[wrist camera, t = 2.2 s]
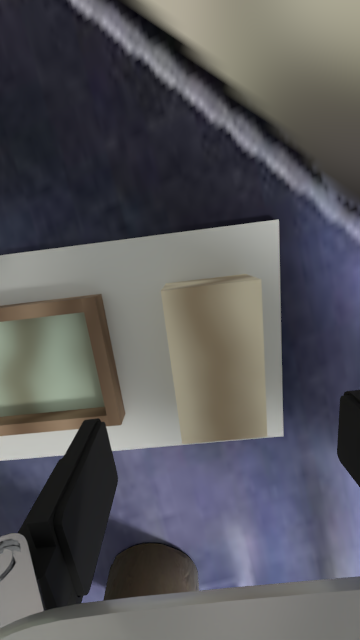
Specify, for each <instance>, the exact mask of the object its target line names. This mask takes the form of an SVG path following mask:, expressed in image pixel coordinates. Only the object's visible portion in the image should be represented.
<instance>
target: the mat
mask: <svg viewBox="0 0 360 640" xmlns="http://www.w3.org/2000/svg"><path fill="white" fill-rule="evenodd" d="M240 274H248V275H250V276H253V277H256V278H259V279H261V284H262V309H263V335H264V360H265V386H266V411H267V436H268V437H280V436H283V395H282V347H281V299H280V251H279V219H278V220H271V221H263V222H255V223H247V224H240V225H232V226H224V227H216V228H209V229H201V230H193V231H185V232H178V233H170V234H162V235H154V236H147V237H139V238H131V239H123V240H116V241H108V242H100V243H92V244H85V245H77V246H69V247H61V248H54V249H46V250H38V251H30V252H23V253H15V254H7V255H0V306H2V305H11V304H19V303H27V302H36V301H44V300H53V299H61V298H70V297H78V296H86V295H95V294H102V299H103V304H104V309H105V314H106V319H107V324H108V329H109V334H110V339H111V344H112V349H113V354H114V359H115V364H116V369H117V374H118V379H119V384H120V389H121V394H122V399H123V404H124V409H125V416H124V419H123V422H122V425H117V426H106V428H107V432H108V437H109V441H110V445H111V449H112V451H118V450H129V449H141V448H153V447H164V446H176V445H187V444H182V439H181V432H180V425H179V418H178V411H177V403H176V396H175V389H174V382H173V375H172V368H171V361H170V354H169V347H168V339H167V332H166V325H165V318H164V311H163V304H162V297H161V290H162V288H163V287H164V285H165V284H166V283H173V282H182V281H190V280H198V279H207V278H215V277H224V276H232V275H240ZM78 430H79V429H74V430H63V431H52V432H41V433H30V434H19V435H8V436H0V461H2V460H14V459H26V458H37V457H49V456H60V455H65V453H66V451H67V450H68V448H69V446H70V444H71V442H72V441H73V439H74V437H75V435H76V433H77V432H78ZM268 437H260V438H268ZM249 439H256V438H249ZM237 440H245V439H237ZM226 441H233V440H226ZM214 442H222V441H214ZM203 443H210V442H203ZM191 444H199V443H191Z"/></svg>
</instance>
